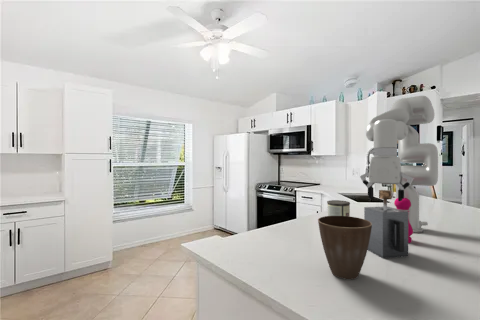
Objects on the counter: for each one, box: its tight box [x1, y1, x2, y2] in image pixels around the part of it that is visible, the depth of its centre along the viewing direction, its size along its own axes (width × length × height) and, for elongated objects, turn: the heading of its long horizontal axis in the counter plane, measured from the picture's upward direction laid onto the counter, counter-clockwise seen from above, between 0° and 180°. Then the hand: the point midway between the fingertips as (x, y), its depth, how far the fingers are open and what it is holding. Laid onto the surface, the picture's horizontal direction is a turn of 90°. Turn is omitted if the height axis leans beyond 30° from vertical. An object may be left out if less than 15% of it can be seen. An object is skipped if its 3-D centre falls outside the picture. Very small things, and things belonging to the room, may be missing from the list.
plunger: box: [378, 189, 393, 210], centre depth 92 cm, size 7×7×17 cm
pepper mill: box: [393, 195, 414, 244], centre depth 105 cm, size 7×7×20 cm
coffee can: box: [326, 199, 351, 217], centre depth 120 cm, size 10×10×14 cm
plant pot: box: [317, 215, 372, 280], centre depth 74 cm, size 15×15×16 cm
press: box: [363, 205, 409, 259], centre depth 90 cm, size 10×13×16 cm
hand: (385, 199), depth 92 cm, fingers open, 9 cm apart
